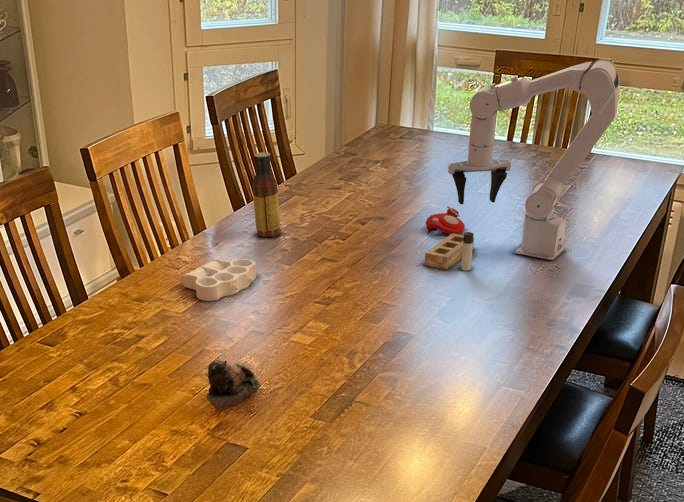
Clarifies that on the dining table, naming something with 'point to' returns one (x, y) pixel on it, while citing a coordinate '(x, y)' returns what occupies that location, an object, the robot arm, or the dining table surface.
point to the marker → (467, 251)
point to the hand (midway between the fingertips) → (476, 202)
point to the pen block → (446, 252)
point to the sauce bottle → (265, 197)
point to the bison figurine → (229, 384)
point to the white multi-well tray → (220, 278)
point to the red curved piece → (446, 222)
